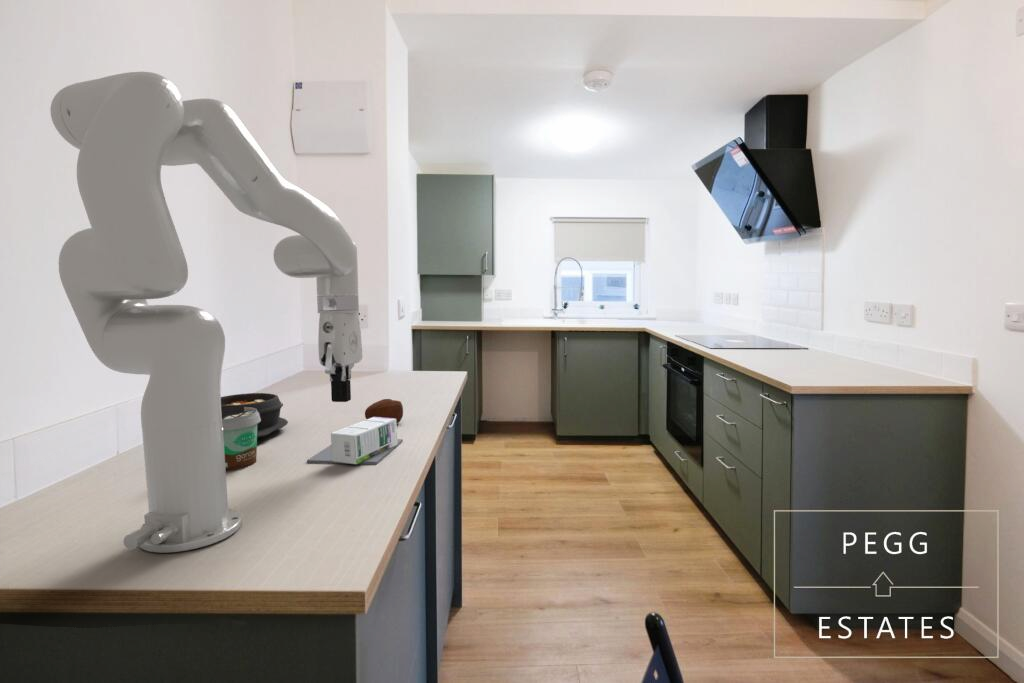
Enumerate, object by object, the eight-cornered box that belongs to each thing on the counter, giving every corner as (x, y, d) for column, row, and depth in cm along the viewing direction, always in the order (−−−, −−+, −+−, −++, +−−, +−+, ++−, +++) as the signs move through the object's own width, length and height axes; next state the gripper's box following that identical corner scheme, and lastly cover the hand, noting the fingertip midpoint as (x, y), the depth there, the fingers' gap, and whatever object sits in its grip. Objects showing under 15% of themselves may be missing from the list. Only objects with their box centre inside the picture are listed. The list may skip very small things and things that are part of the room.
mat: (376, 464, 110) (376, 461, 110) (307, 462, 112) (306, 460, 112) (402, 441, 126) (402, 439, 126) (341, 440, 128) (341, 438, 128)
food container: (235, 476, 105) (232, 421, 104) (206, 474, 106) (202, 420, 105) (276, 456, 117) (273, 407, 116) (249, 454, 118) (246, 406, 117)
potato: (406, 426, 139) (405, 400, 139) (366, 430, 136) (365, 403, 136) (401, 420, 146) (400, 395, 145) (363, 424, 143) (362, 398, 142)
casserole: (285, 444, 126) (283, 406, 125) (189, 453, 120) (186, 413, 119) (290, 419, 150) (289, 386, 149) (210, 425, 144) (208, 392, 143)
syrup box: (354, 435, 108) (398, 418, 121) (328, 432, 110) (375, 416, 124) (355, 465, 108) (399, 444, 122) (330, 461, 111) (376, 442, 124)
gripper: (340, 306, 102) (344, 409, 104) (371, 304, 117) (374, 394, 118) (300, 306, 103) (304, 408, 105) (336, 304, 118) (338, 394, 119)
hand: (341, 400), depth 112 cm, fingers closed
